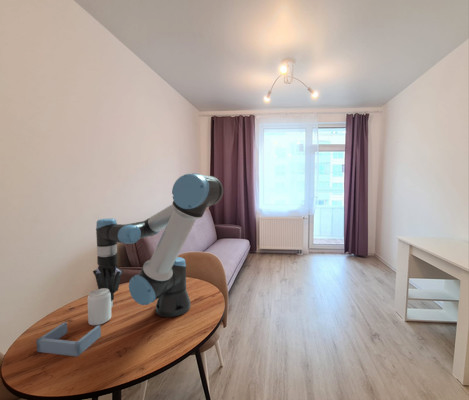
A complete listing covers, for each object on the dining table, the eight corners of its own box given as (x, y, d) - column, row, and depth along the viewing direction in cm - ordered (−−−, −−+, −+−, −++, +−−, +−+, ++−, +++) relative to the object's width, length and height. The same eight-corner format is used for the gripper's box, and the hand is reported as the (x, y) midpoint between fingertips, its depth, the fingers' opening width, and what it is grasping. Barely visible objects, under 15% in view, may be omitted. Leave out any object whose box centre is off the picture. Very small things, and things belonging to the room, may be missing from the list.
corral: (100, 336, 80) (100, 325, 80) (77, 356, 70) (77, 344, 70) (64, 332, 83) (64, 322, 82) (36, 351, 73) (36, 339, 73)
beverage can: (100, 327, 85) (99, 297, 85) (83, 325, 87) (82, 295, 86) (115, 316, 93) (115, 288, 93) (99, 314, 95) (98, 287, 94)
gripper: (126, 252, 97) (128, 304, 98) (100, 251, 99) (102, 302, 100) (114, 257, 89) (116, 313, 90) (87, 256, 92) (89, 311, 93)
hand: (109, 307), depth 95 cm, fingers closed
